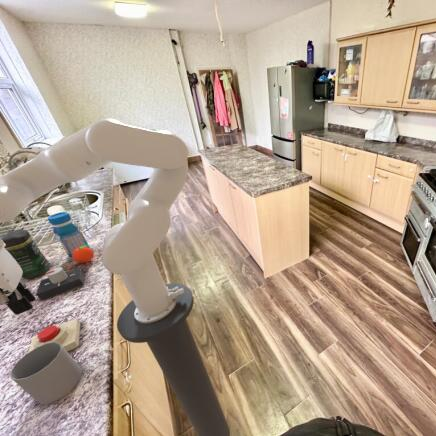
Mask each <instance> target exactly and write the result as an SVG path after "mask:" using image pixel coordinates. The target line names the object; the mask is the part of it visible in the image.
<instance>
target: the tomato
mask: <svg viewBox="0 0 436 436" xmlns="http://www.w3.org/2000/svg"><path fill="white" fill-rule="evenodd" d="M85 246H90V248H89V247H85ZM85 246H82V247H79V248H77V249H76V250H75V251H74V252H73V254H72V257H73V261H75V262H76V263H80V264H85V263H88V262H90V261H91V260H92V259H93V258H94V256H95V253H94V249H92V248H93V245H90V244H88V245H85Z"/></svg>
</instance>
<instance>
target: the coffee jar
mask: <svg viewBox="0 0 436 436" xmlns="http://www.w3.org/2000/svg"><path fill="white" fill-rule="evenodd" d="M0 238H1V239H2V240H3V242H4V243H5V244H6V246H5V247H4V248H5V249H6V250H7V251H8V252H9V253H10V254H11V256H12V257H13V258H14V259H15V260H16V261H17V263H18V264H19V266H20V267H21V269H22V271H23V274H22V277H21V279H25V280H26V279H33V278H37V277H39V276H40V275H43V274H46V273H47V272H48V270H49V268H50V264H51V263H50V262H49V260H48V259H47V258H46V256H45V255H44V254H43V252H42V251H41V250H40V248H39V247H38V245H37V244H36V242H35V241H34V239H33V236H32V235H31V233H29V230H27V229H23V228H20V229H15V230H11V231H7V233H6V234H4V235H3V236H2V237H0Z"/></svg>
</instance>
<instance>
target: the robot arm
mask: <svg viewBox="0 0 436 436" xmlns="http://www.w3.org/2000/svg"><path fill="white" fill-rule="evenodd" d="M188 158H189V148H188V147H187V145H186V143H185V141H184V140H183V139H182V138H181V137H179V136H178V135H176V134H175V133H173V132H171V131H168V130H157V131H156V130H151V129H147V128H141V127H137V126H132V125H128V124H124V123H122V122H121V121H119V120H116V119H113V118H102V119H98V120H96V121H94V122H93V123H91V124H89V125H87V126H85V127H83V128H82V129H80V130H77V131H76V132H74V133H72V134H70V135H69V136H66V137H64V138H62V139H61V140H58V141H56V142H55V143H53V144H51V145H49V146H47V147H46V148H44V149H42V150H41V151H40V152H39V153H38V154H37V155H36V156H35V157H33V158H31V159H29V160H28V161H26V162H25V163H23V164H21V165H19V166H17V167H15V168H13V169H12V170H10V171H8V172H6V173H4V174H2V175H0V224H3V223H6V222H10V221H12V220H14V219H15V218H17V217H18V216H19V215H20V214H21V213H22V212H24V210H25V209H26V208H27V207H28V206H29V205H30V204H32V203H33V202H34V201H36V200H38V199H39V198H41V197H43V196H44V195H46V194H48V193H49V192H52V191H53V190H55V189H57V188H58V187H61V186H63V185H65V184H69V183H77V182H79V181H80V182H81V181H82V180H84V179H86V178H87V177H89V176H90V175H93V174H94V173H96V172H97V171H99V170H101V169H102V168H104V167H106V166H107V165H109V164H112V163H117V164H118V163H119V164H121V165H129V166H136V167H137V166H138V167H145V168H151V169H153V171H152V173H151V174H150V176H149V177H148V179H147V181H146V182H145V184H144V185H143V187H142V188H141V189H140V191H139V192H138V193H137V194H136V195H135V197H134V198H133V199H132V201H131V202H130V204H129V205H128V208H127V218H126V220H125V221H124V222H120V223H117V224H114V225H113V226H112V227H110V228H109V230H108V231H107V232H106V234H105V236H104V239H103V244H102V245H103V246H102V253H101V262H102V264H103V267H104V268H105V270H107V271H108V272H109V273H111V274H114V275H117V276H118V275H119V277H120V278H121V280H122V282H123V284H124V286H125V288H126V289H127V292H128V294H129V296H130V298H131V300H133V301H134V303H135V305H136V307H137V308H136V309H135V312H134V316H135V318H136V320H137V321H138V322H140V323H152V322H155V321H158V320H160V319H162V318H164V317H165V316H167V315H168V314H169V313H170V312H171V311H172V310H173V309H174V307H175V305H176V302H177V299H176V297H177V296H179V295H182V294H184V293H185V292H184V290H183V288H181V289H179V288H178V286H177V287H175V288H173V289H169V290H168V287H167V286H165V284H166V283H165V281H164V279H163V276H162V274H161V271H160V269H159V265H158V264H157V261H156V259H155V257H154V253H155V251H157V249H158V247H159V245H160V244H161V243H162V241H163V240H164V239H165V237H166V235H168V232H169V230H170V228H171V225H172V224H171V223H172V218H171V214H170V209H171V208H172V205H173V204H174V203H175V202H176V200H177V198H178V196H179V195H180V193H181V192H182V190H183V188H184V186H185V185H186V182H187V179H188V175H189V162H188ZM1 238H2V237H0V305H2V304H3V305H4V306H7V307H8V308H9V310H10V311H11V312H12V313H13V314H14V315H20V314H23V313H25V312H28V311H31V310H33V308H34V306H33V304H32V303H33V302H35V301H36V299H37V298H36V297H35V296H34V294H33V293H32V292H31V290H30V289H29V288H28V286H27V284H26V283H25V282H24V281H23V278H22V274H23V271H22V269H21V267H20V266H19V264H18V263H17V261H16V260H15V259H14V258H13V257H12V256H11V254H10V253H9V252H8V251H7V250H6V249H5V248H4V247H5V246H6V244H5V243H4V242H3V240H2V239H1Z"/></svg>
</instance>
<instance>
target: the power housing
mask: <svg viewBox="0 0 436 436" xmlns="http://www.w3.org/2000/svg"><path fill="white" fill-rule="evenodd" d="M54 325H55V326H57V327H58V329H59V330H60V333H59V334H58V335H57V336H56V337H54V338H53V339H52V340H49V341H47V342H41V341H40V340H39V339H38V337H37V336H38V334H36V335H33V336H32V338H31V342H30V346H29V348H28V352H27V353H29V352H30V351H32V350H33V349H35V348H37V347H39V346H42V345H44V344H46V343H52V342H57V343H60V344H61V345H62V346H63V347H64V349H65V350H66V351H67V352H68V353H69V351H71V350H74V349H76V348H78V347H79V345H80V331H81V321H80V320H79V318H78V317H76V318H74V319H71V320H68V321H66V322H64V323H58V324H54Z"/></svg>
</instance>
